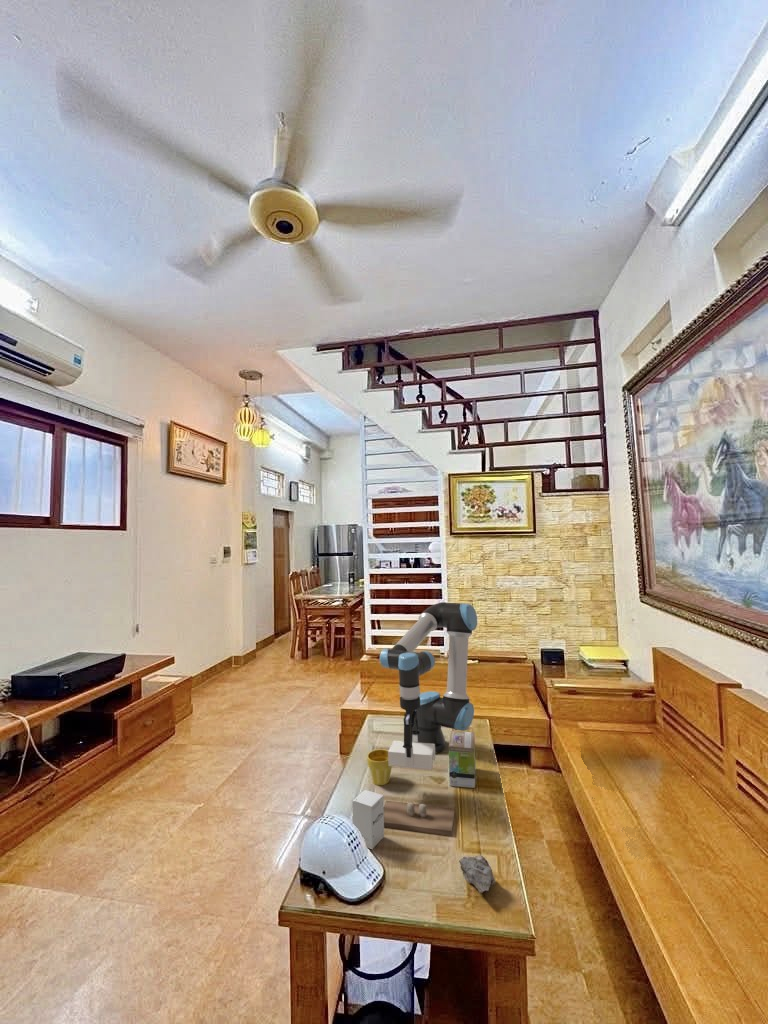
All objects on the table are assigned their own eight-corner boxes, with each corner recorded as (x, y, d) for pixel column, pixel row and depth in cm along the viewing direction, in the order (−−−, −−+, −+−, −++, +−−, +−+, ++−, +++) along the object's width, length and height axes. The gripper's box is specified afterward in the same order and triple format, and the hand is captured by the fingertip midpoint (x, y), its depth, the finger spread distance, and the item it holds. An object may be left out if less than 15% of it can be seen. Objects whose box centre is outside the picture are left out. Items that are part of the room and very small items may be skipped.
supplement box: (372, 851, 131) (371, 807, 132) (352, 842, 135) (351, 800, 136) (385, 836, 138) (384, 794, 139) (365, 829, 142) (364, 788, 143)
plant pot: (391, 789, 165) (390, 762, 165) (364, 787, 167) (364, 760, 167) (396, 775, 175) (395, 749, 175) (371, 773, 177) (370, 748, 177)
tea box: (476, 788, 163) (474, 747, 165) (449, 786, 165) (447, 746, 167) (475, 768, 178) (474, 731, 179) (451, 766, 180) (449, 729, 181)
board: (386, 804, 155) (386, 791, 155) (454, 813, 149) (454, 799, 149) (377, 826, 143) (377, 811, 143) (451, 836, 137) (450, 820, 138)
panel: (393, 753, 168) (393, 740, 168) (435, 757, 164) (434, 743, 164) (388, 765, 159) (387, 751, 159) (432, 769, 155) (431, 755, 156)
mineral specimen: (487, 902, 118) (454, 900, 115) (480, 864, 124) (449, 862, 122) (506, 892, 112) (472, 890, 110) (498, 853, 119) (466, 850, 116)
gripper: (405, 686, 175) (407, 744, 173) (393, 706, 154) (395, 773, 152) (424, 687, 173) (426, 746, 171) (414, 707, 152) (417, 775, 150)
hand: (412, 758), depth 162 cm, fingers closed on panel, 9 cm apart
